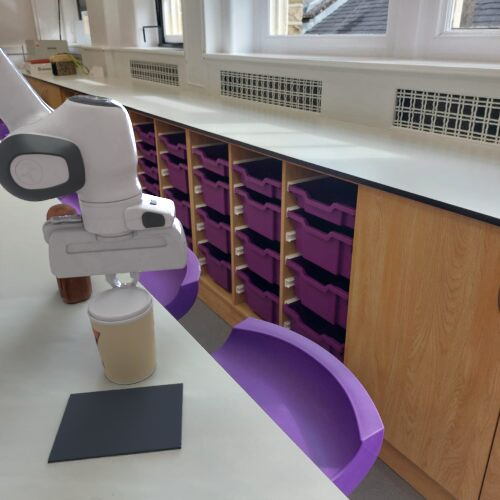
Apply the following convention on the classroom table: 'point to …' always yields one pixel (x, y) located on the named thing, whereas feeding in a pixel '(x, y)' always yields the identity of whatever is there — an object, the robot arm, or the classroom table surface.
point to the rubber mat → (119, 423)
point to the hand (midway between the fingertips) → (126, 295)
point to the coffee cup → (124, 333)
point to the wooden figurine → (72, 286)
